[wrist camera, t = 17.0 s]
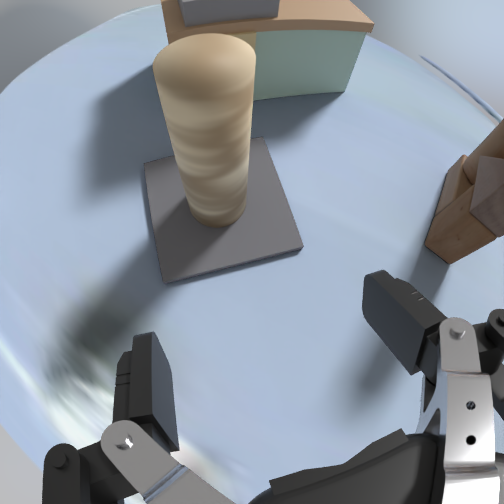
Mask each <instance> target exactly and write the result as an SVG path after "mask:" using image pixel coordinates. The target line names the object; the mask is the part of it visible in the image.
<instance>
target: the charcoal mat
mask: <svg viewBox="0 0 504 504" xmlns="http://www.w3.org/2000/svg"><path fill="white" fill-rule="evenodd" d="M144 169H145V177H146V185H147V192H148V199H149V206H150V212H151V219H152V225H153V231H154V236H155V242H156V248H157V253H158V259H159V264H160V269H161V274H162V279H163V282H164V284H167V283H171V282H175V281H179V280H182V279H186V278H190V277H194V276H198V275H202V274H206V273H210V272H214V271H218V270H222V269H226V268H230V267H234V266H238V265H241V264H245V263H249V262H253V261H257V260H261V259H265V258H269V257H272V256H276V255H280V254H284V253H288V252H292V251H296V250H299V249H302V248H303V247H304V246H303V243H302V240H301V237H300V234H299V231H298V229H297V226H296V223H295V220H294V217H293V215H292V212H291V209H290V206H289V204H288V201H287V198H286V196H285V193H284V190H283V188H282V185H281V182H280V180H279V177H278V174H277V172H276V169H275V166H274V164H273V161H272V159H271V156H270V154H269V151H268V148H267V146H266V143H265V141H264V138H263V137H258V138H252V139H250V151H249V166H248V181H247V197H246V207H245V210H244V212H243V214H242V215H241V217H240V218H239V219H238V220H237V221H236V222H234V223H232V224H231V225H228V226H225V227H220V228H213V227H208V226H205V225H203V224H201V223H200V222H198V221H197V220H196V219H195V218H194V217H193V215H192V213H191V211H190V208H189V204H188V201H187V197H186V194H185V191H184V187H183V184H182V180H181V177H180V173H179V169H178V166H177V162H176V159H175V155H174V156H170V157H166V158H162V159H158V160H154V161H151V162H147V163H144Z"/></svg>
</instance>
